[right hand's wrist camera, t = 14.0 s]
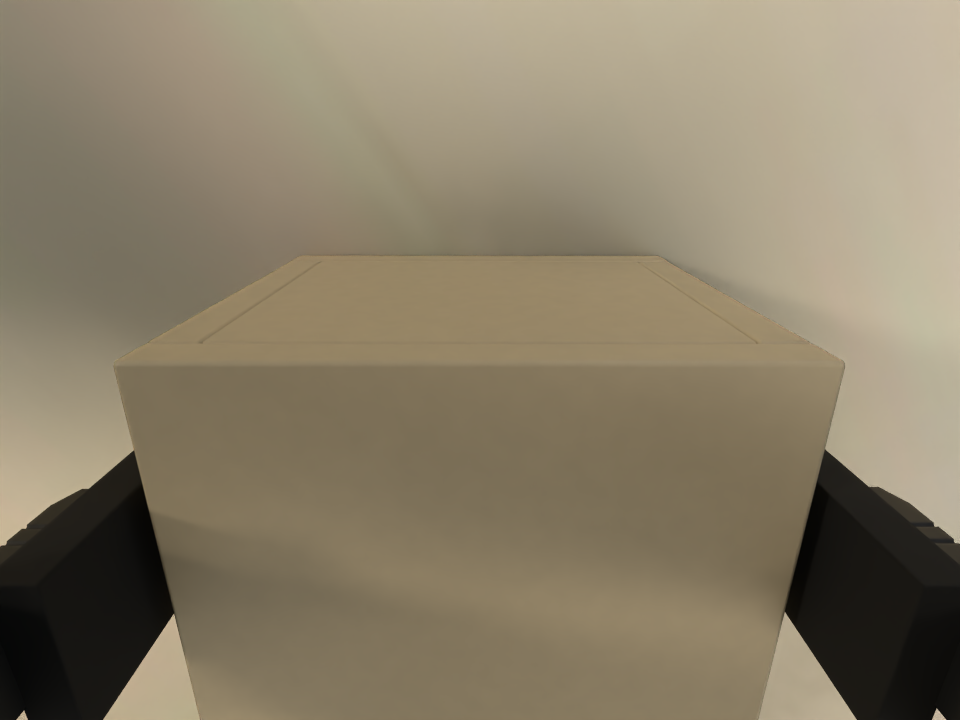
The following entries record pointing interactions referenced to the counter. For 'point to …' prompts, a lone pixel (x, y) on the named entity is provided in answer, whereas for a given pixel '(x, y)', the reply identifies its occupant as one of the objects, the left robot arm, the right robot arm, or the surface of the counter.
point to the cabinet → (479, 489)
